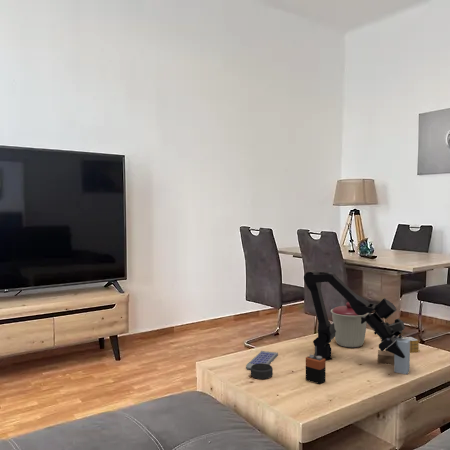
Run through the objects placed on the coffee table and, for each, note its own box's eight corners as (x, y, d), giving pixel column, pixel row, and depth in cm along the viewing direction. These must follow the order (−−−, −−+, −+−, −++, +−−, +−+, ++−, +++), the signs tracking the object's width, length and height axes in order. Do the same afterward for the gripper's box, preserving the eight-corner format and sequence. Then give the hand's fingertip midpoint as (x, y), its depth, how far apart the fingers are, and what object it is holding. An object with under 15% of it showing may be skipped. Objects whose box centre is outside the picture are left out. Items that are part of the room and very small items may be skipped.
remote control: (278, 356, 216) (278, 352, 216) (262, 373, 195) (262, 368, 195) (261, 354, 219) (261, 350, 219) (244, 370, 198) (244, 365, 198)
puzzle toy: (407, 353, 217) (407, 341, 217) (400, 349, 223) (400, 337, 222) (418, 352, 218) (418, 340, 218) (411, 348, 224) (411, 336, 224)
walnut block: (377, 363, 204) (377, 354, 204) (378, 358, 211) (378, 349, 211) (394, 365, 202) (394, 356, 202) (394, 360, 209) (394, 351, 208)
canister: (325, 340, 239) (325, 298, 238) (360, 338, 241) (360, 297, 240) (338, 351, 221) (338, 306, 220) (375, 349, 223) (375, 305, 222)
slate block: (394, 372, 193) (394, 340, 193) (396, 368, 198) (397, 337, 197) (407, 374, 191) (407, 342, 190) (409, 370, 195) (410, 339, 194)
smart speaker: (277, 375, 191) (277, 366, 191) (262, 382, 185) (262, 372, 185) (260, 370, 198) (260, 361, 197) (246, 376, 191) (246, 366, 191)
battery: (320, 384, 181) (320, 359, 181) (305, 380, 186) (305, 355, 186) (326, 381, 185) (326, 356, 184) (311, 377, 189) (311, 352, 189)
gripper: (387, 318, 187) (416, 350, 182) (397, 309, 203) (424, 338, 198) (367, 335, 192) (394, 367, 186) (378, 324, 208) (404, 353, 202)
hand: (405, 355), depth 193 cm, fingers closed on slate block, 5 cm apart
